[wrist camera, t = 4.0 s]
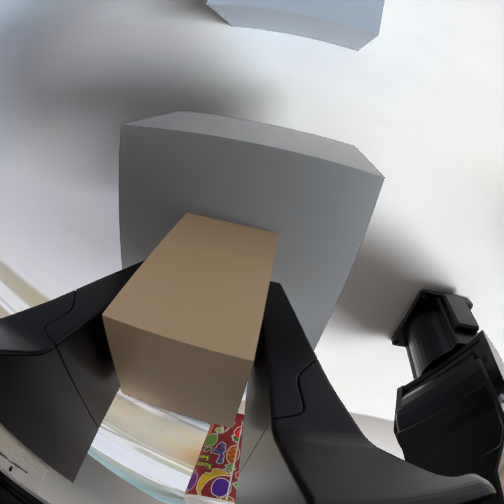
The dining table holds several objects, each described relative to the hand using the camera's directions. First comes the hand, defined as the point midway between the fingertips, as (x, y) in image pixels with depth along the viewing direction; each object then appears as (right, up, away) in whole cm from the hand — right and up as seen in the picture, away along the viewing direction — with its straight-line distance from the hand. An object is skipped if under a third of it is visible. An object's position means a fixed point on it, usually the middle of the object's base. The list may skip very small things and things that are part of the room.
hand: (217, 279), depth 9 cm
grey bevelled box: (+1, +3, +6) cm, 6 cm away
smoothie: (-1, -23, +28) cm, 36 cm away
